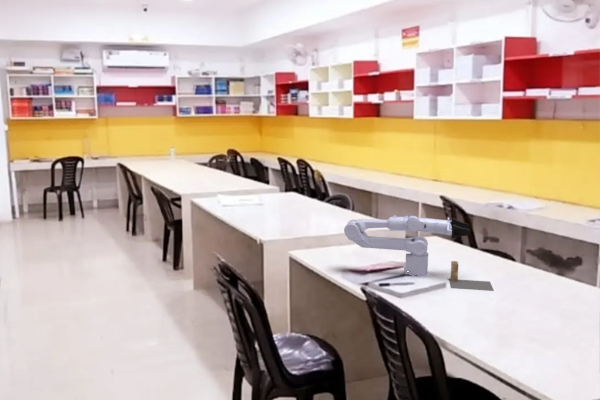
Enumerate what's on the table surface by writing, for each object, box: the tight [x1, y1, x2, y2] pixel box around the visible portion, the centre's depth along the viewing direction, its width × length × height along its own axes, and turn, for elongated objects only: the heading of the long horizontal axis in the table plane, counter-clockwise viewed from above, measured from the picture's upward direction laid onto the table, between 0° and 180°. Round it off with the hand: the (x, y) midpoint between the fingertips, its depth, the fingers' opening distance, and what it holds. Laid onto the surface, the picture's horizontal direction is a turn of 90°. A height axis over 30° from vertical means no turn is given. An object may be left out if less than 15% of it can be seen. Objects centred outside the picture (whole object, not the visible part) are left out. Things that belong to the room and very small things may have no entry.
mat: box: [448, 278, 495, 292], centre depth 238 cm, size 16×13×1 cm
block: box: [450, 260, 459, 282], centre depth 245 cm, size 2×5×7 cm, turn 169°
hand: (469, 229), depth 247 cm, fingers open, 7 cm apart
